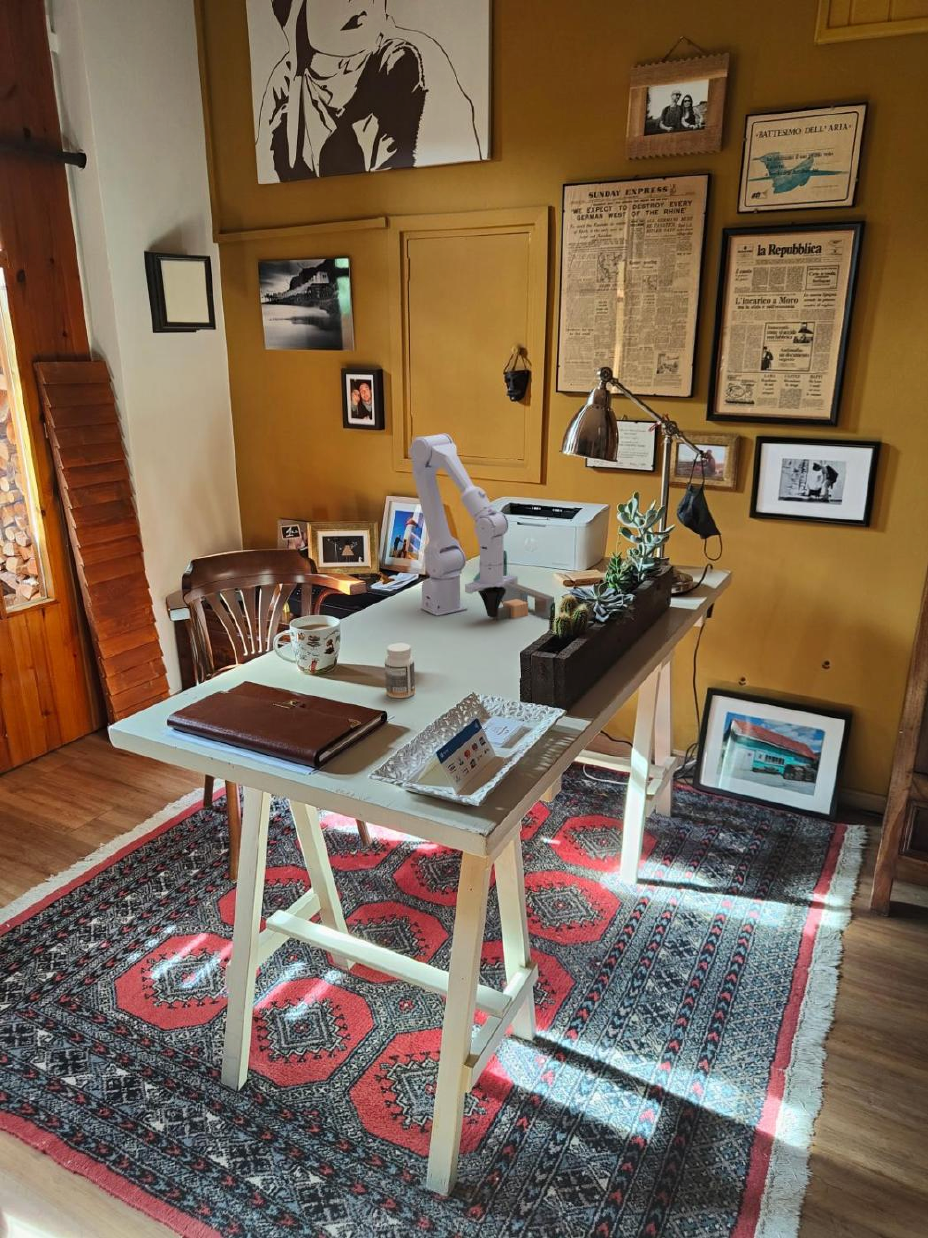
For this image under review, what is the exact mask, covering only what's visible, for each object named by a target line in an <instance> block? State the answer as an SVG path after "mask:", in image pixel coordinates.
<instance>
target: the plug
mask: <svg viewBox="0 0 928 1238" xmlns="http://www.w3.org/2000/svg"><path fill="white" fill-rule="evenodd" d="M526 615H527V616H529V602H528V603H526V602H524V601H521V600H519V599H515V600H510V601H505V602H502V606H499V608H498V612H497V616H496V617H493V618H492V619H494V620H496V619H501V620H505V619H511V618H512V619H519V618H522V616H523V617H527V616H526ZM518 617H519V618H518Z"/></svg>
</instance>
